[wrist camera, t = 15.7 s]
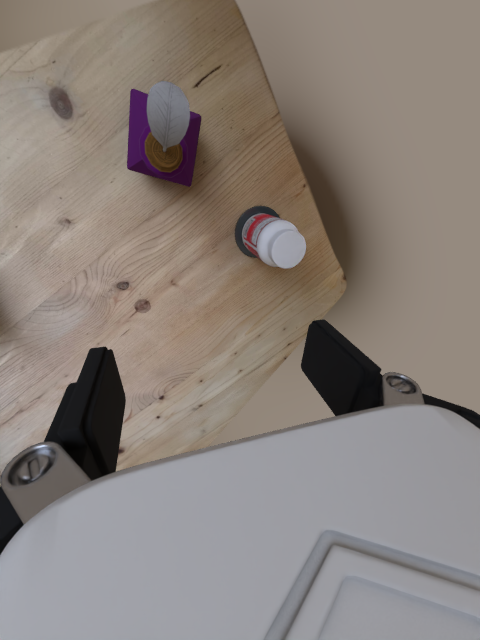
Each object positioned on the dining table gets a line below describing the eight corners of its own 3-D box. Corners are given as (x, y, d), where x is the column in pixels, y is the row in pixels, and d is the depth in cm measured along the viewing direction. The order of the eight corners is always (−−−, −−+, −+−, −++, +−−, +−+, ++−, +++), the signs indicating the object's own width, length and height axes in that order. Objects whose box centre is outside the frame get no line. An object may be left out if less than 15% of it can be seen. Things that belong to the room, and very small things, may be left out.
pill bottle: (278, 247, 42) (311, 268, 33) (244, 256, 41) (268, 279, 32) (275, 208, 39) (311, 219, 29) (238, 216, 38) (263, 230, 28)
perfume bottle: (188, 186, 34) (211, 194, 19) (129, 169, 32) (103, 164, 17) (198, 120, 31) (234, 69, 16) (133, 96, 28) (105, 7, 13)
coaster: (235, 205, 37) (236, 205, 37) (284, 206, 39) (285, 206, 39) (234, 258, 41) (234, 258, 41) (278, 256, 43) (279, 256, 43)
